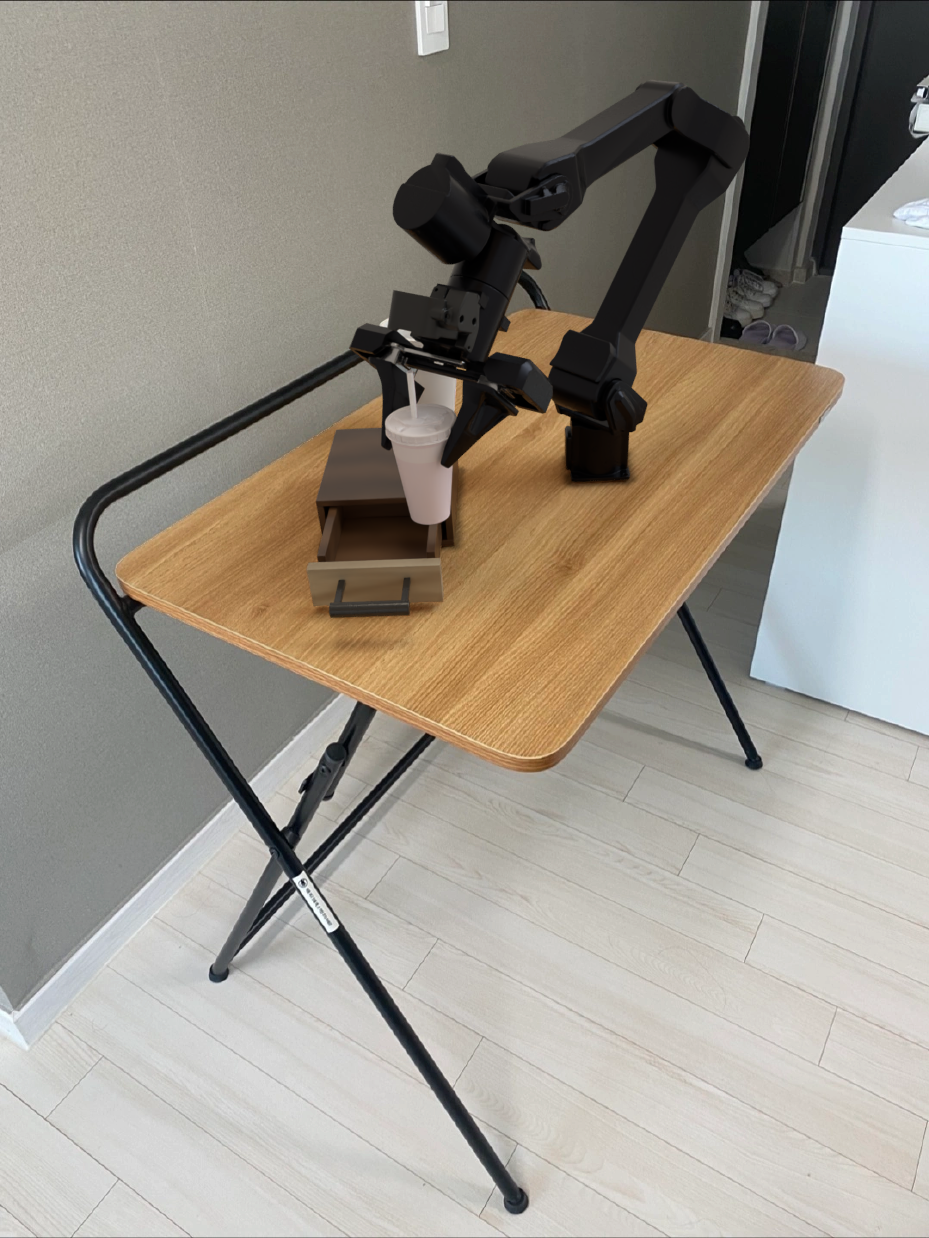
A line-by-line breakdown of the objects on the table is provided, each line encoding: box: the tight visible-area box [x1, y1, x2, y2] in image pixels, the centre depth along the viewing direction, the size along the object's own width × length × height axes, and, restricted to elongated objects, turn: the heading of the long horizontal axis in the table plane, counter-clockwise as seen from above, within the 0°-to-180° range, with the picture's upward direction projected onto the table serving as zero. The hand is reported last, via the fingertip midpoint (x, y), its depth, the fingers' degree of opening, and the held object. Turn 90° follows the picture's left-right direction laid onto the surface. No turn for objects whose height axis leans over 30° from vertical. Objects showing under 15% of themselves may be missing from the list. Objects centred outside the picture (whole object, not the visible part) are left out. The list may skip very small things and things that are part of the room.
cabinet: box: [315, 427, 460, 547], centre depth 102 cm, size 15×13×6 cm
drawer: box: [306, 503, 445, 619], centre depth 92 cm, size 19×12×4 cm, turn 178°
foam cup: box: [379, 317, 457, 412], centre depth 115 cm, size 10×9×13 cm
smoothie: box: [385, 370, 457, 525], centre depth 85 cm, size 6×6×14 cm
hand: (414, 457), depth 85 cm, fingers closed on smoothie, 6 cm apart
